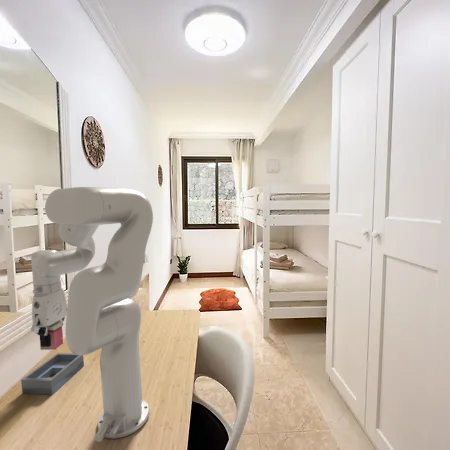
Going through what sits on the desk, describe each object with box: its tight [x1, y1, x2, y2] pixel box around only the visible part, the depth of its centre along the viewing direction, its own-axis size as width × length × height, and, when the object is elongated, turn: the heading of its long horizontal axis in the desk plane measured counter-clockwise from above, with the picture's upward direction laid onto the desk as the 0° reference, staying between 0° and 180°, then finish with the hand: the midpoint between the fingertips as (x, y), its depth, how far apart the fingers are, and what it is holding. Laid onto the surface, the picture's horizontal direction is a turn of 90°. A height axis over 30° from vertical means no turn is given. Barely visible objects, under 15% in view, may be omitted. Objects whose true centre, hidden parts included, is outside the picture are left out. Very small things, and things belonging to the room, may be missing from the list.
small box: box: [39, 321, 64, 351], centre depth 88 cm, size 5×4×8 cm
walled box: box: [20, 352, 85, 396], centre depth 88 cm, size 15×10×4 cm, turn 173°
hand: (51, 341), depth 88 cm, fingers closed on small box, 4 cm apart
